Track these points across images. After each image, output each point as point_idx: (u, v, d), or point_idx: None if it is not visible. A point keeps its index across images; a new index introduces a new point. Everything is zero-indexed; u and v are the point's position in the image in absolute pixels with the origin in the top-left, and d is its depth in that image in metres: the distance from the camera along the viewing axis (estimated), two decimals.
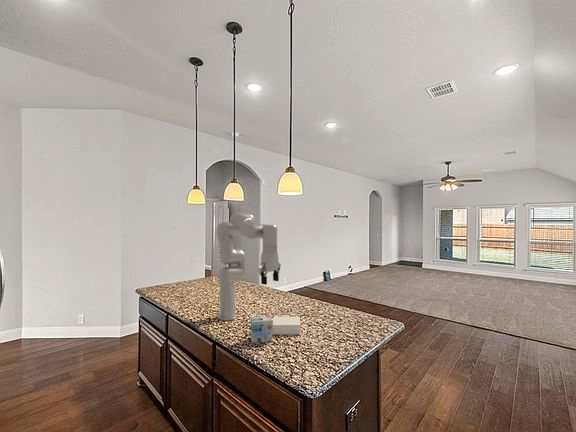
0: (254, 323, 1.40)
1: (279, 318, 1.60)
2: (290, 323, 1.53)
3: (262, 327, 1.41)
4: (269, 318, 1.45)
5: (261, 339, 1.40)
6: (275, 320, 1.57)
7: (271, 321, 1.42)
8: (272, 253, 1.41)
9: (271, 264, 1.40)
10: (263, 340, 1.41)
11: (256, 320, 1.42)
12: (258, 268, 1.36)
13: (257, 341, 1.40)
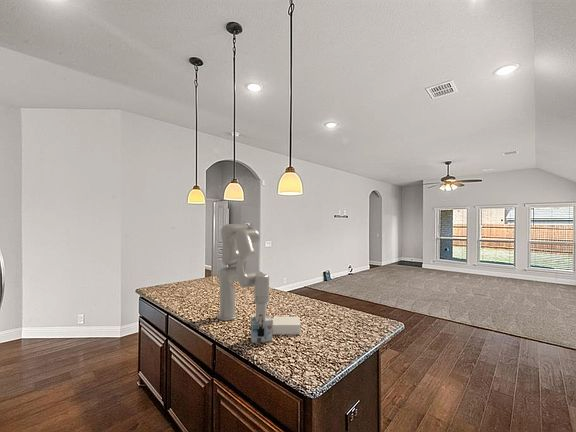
0: (254, 323, 1.40)
1: (279, 318, 1.60)
2: (290, 323, 1.53)
3: None
4: (269, 318, 1.45)
5: (261, 339, 1.40)
6: (275, 320, 1.57)
7: (271, 321, 1.42)
8: (266, 303, 1.43)
9: None
10: (263, 340, 1.41)
11: None
12: (259, 323, 1.36)
13: (257, 341, 1.40)
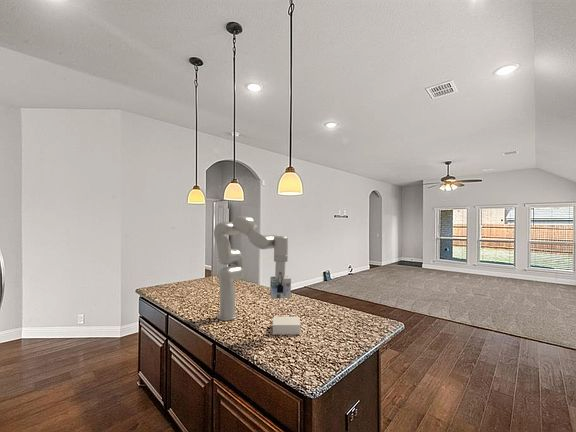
0: (274, 280, 1.50)
1: (279, 318, 1.60)
2: (290, 323, 1.53)
3: None
4: (287, 277, 1.54)
5: (281, 295, 1.50)
6: (275, 320, 1.57)
7: (289, 279, 1.52)
8: None
9: None
10: (282, 296, 1.51)
11: None
12: (279, 279, 1.46)
13: (276, 297, 1.50)
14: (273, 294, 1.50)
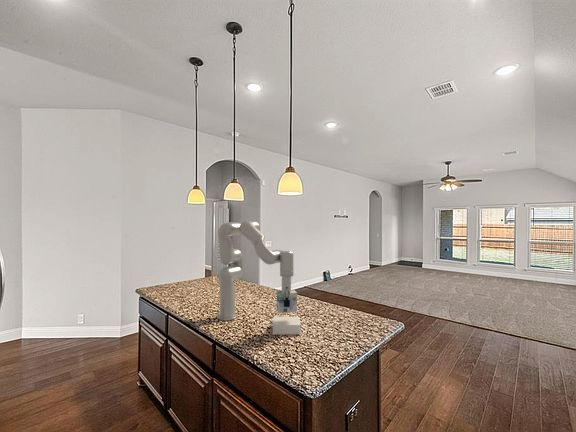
0: (280, 295, 1.53)
1: (279, 318, 1.60)
2: (290, 323, 1.53)
3: None
4: (293, 291, 1.58)
5: (287, 309, 1.54)
6: (275, 320, 1.57)
7: (296, 293, 1.55)
8: None
9: None
10: (289, 310, 1.54)
11: None
12: (286, 294, 1.49)
13: (283, 311, 1.53)
14: (280, 308, 1.53)
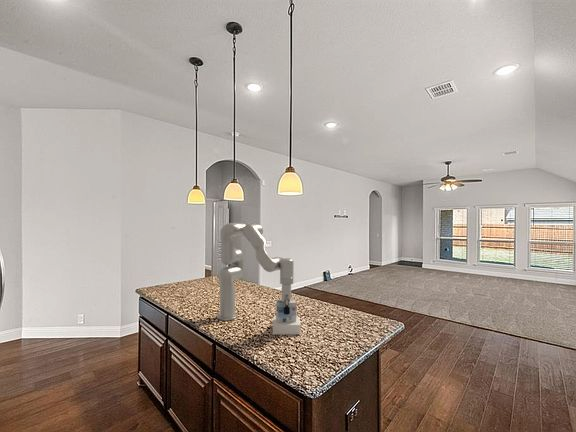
0: (280, 304, 1.54)
1: None
2: (290, 323, 1.53)
3: None
4: (293, 301, 1.58)
5: (286, 319, 1.54)
6: (275, 320, 1.57)
7: (295, 303, 1.55)
8: None
9: None
10: (288, 320, 1.54)
11: (281, 302, 1.55)
12: (285, 300, 1.49)
13: (282, 321, 1.54)
14: (279, 318, 1.53)
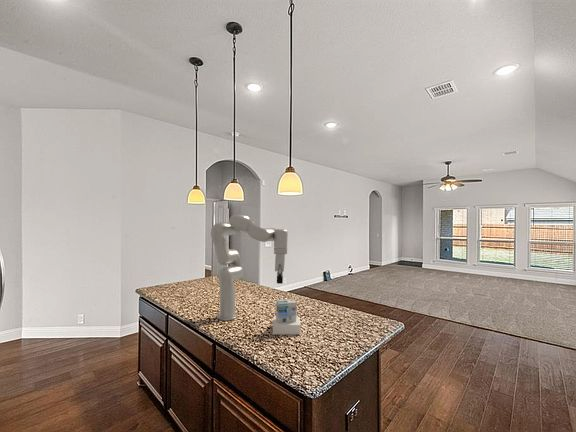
0: (280, 304, 1.54)
1: None
2: (290, 323, 1.53)
3: (287, 308, 1.54)
4: (293, 301, 1.58)
5: (286, 319, 1.54)
6: (275, 320, 1.57)
7: (295, 303, 1.55)
8: (284, 255, 1.57)
9: None
10: (288, 320, 1.54)
11: (281, 302, 1.55)
12: (279, 269, 1.50)
13: (282, 321, 1.54)
14: (279, 318, 1.53)
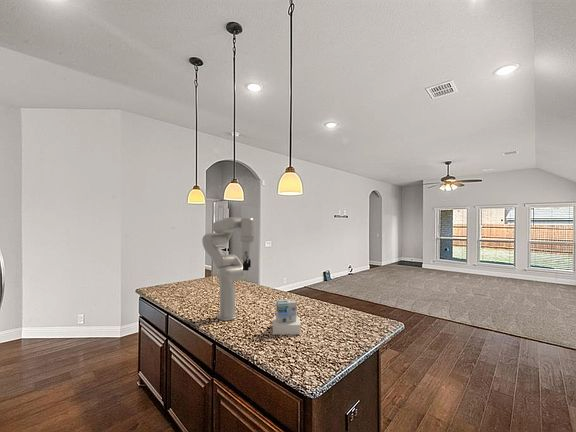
0: (280, 304, 1.54)
1: None
2: (290, 323, 1.53)
3: (287, 308, 1.54)
4: (293, 301, 1.58)
5: (286, 319, 1.54)
6: (275, 320, 1.57)
7: (295, 303, 1.55)
8: (251, 242, 1.60)
9: (250, 252, 1.60)
10: (288, 320, 1.54)
11: (281, 302, 1.55)
12: (244, 256, 1.53)
13: (282, 321, 1.54)
14: (279, 318, 1.53)
